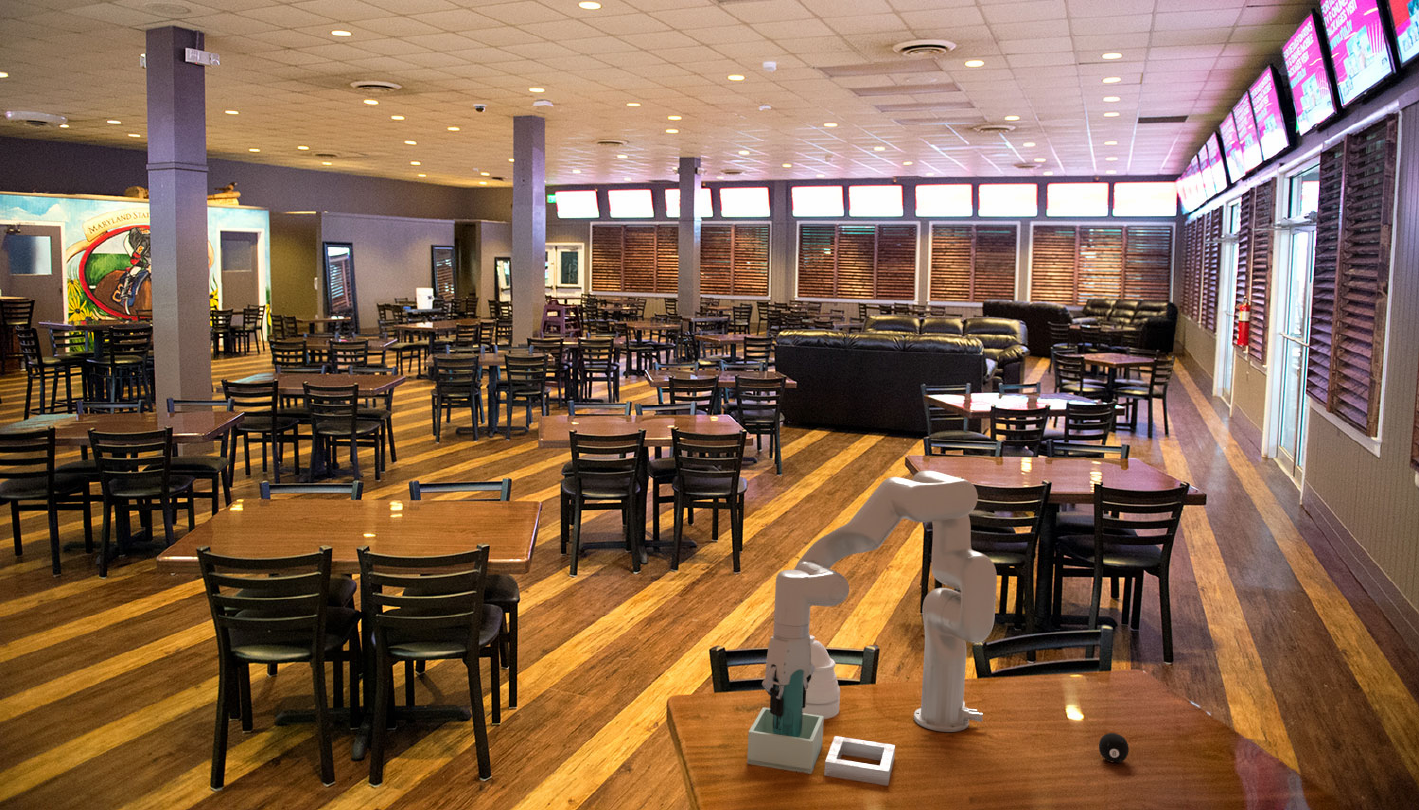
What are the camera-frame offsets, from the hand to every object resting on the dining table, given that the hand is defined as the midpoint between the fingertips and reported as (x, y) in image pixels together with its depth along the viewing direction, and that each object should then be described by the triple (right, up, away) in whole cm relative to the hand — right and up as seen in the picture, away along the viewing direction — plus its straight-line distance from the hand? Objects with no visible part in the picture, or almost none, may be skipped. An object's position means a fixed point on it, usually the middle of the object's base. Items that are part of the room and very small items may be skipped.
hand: (787, 709), depth 219 cm
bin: (0, -10, +1) cm, 10 cm away
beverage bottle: (0, -7, +1) cm, 7 cm away
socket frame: (+15, -11, -3) cm, 19 cm away
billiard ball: (+71, -12, +4) cm, 72 cm away
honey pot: (+8, -8, +27) cm, 29 cm away
